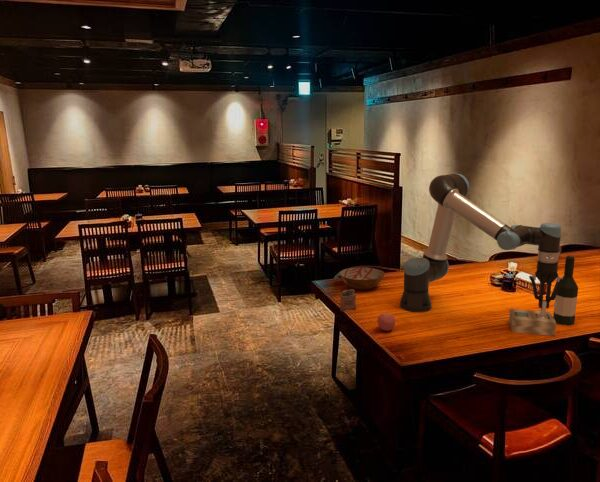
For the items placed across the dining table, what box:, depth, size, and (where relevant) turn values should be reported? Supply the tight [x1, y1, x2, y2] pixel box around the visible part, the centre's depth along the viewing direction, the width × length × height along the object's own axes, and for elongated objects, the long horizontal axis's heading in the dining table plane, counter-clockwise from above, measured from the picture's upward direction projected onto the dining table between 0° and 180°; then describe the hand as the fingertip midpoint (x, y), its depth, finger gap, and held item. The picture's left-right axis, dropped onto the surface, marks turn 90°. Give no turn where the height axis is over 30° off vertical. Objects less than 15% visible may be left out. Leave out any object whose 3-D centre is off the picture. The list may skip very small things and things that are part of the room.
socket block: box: [508, 308, 557, 337], centre depth 198 cm, size 16×12×6 cm
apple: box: [377, 312, 396, 332], centre depth 199 cm, size 7×7×8 cm
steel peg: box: [537, 314, 548, 319], centre depth 196 cm, size 4×4×6 cm
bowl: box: [338, 266, 386, 291], centre depth 259 cm, size 25×25×8 cm
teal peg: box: [516, 312, 527, 317], centre depth 199 cm, size 4×4×6 cm
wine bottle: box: [552, 254, 579, 326], centre depth 202 cm, size 8×8×30 cm
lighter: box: [339, 288, 357, 312], centre depth 224 cm, size 8×3×10 cm, turn 105°
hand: (542, 315), depth 196 cm, fingers closed
